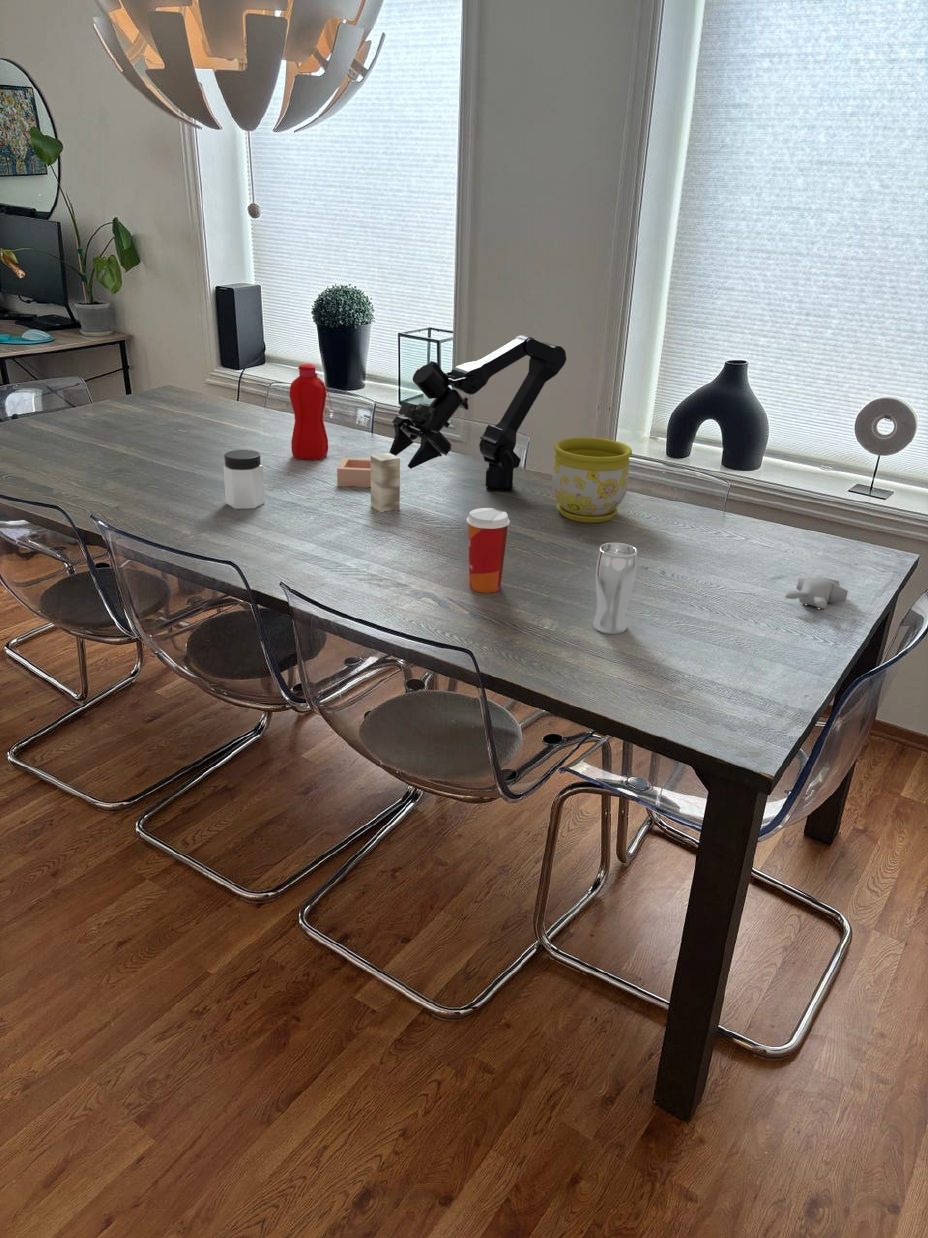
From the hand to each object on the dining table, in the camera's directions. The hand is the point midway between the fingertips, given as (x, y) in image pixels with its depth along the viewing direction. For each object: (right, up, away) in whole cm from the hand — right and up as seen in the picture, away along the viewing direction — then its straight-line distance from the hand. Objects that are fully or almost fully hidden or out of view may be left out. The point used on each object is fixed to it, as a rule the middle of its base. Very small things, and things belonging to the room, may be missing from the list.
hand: (399, 462), depth 223 cm
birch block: (-3, -10, +3) cm, 11 cm away
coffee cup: (+19, -31, -38) cm, 52 cm away
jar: (-37, -10, +2) cm, 38 cm away
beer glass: (+42, -38, -52) cm, 77 cm away
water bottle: (-26, +8, +40) cm, 48 cm away
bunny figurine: (+83, -34, -39) cm, 98 cm away
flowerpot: (+45, -12, +4) cm, 46 cm away
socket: (-11, -1, +21) cm, 24 cm away
